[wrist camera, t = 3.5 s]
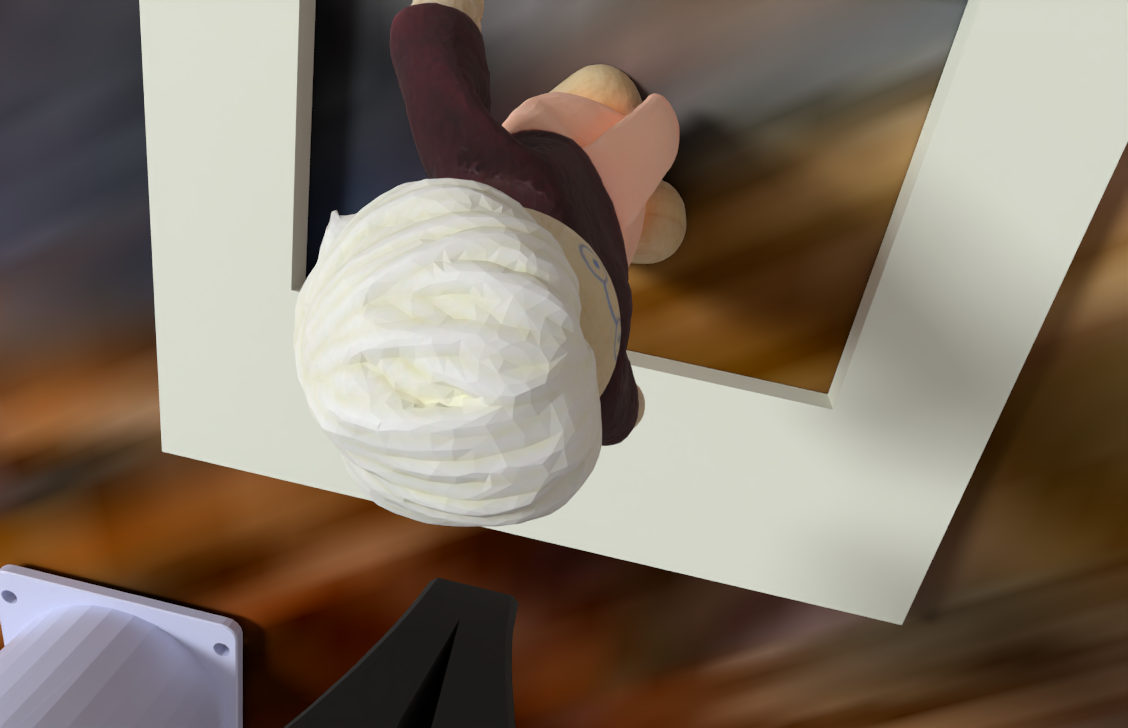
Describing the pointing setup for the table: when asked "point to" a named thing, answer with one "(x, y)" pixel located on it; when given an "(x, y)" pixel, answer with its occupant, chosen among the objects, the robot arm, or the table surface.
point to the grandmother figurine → (489, 286)
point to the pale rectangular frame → (671, 388)
